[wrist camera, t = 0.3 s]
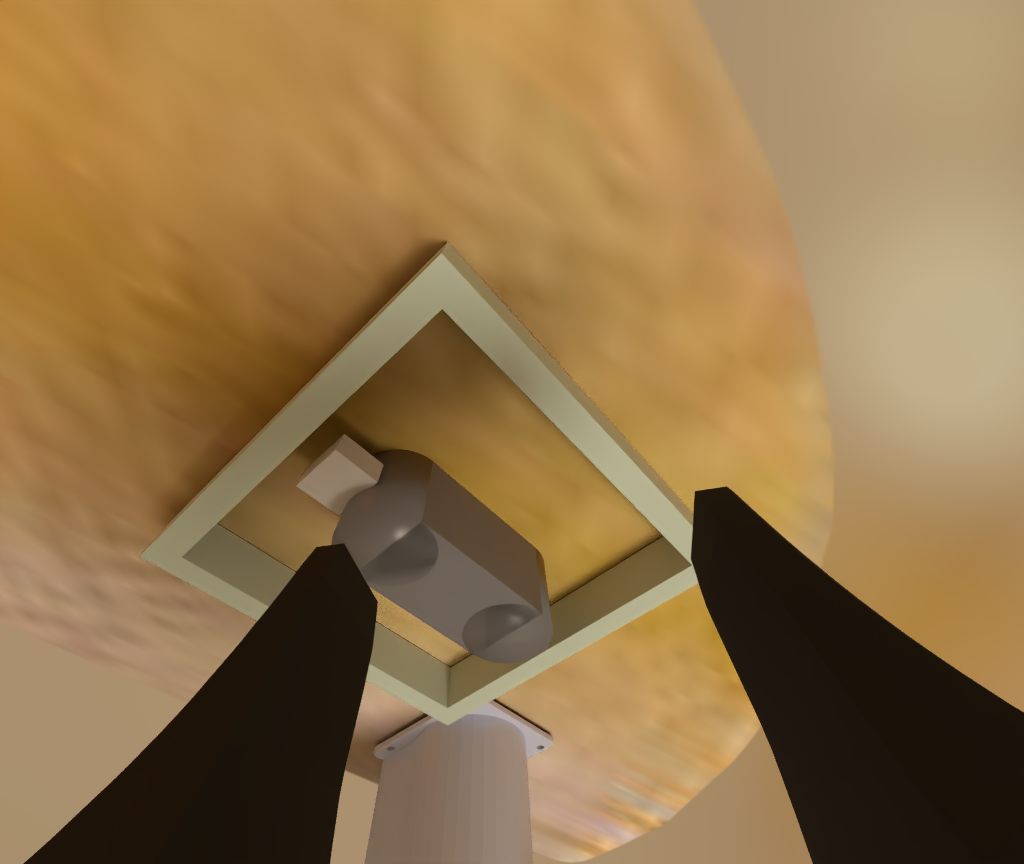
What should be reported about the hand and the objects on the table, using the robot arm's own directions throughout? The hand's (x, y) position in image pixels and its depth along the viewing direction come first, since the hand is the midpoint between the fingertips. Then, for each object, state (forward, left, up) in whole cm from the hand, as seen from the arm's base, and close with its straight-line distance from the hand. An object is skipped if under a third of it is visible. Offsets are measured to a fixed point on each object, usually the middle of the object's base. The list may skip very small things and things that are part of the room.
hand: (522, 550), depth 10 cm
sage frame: (-7, -4, -10) cm, 13 cm away
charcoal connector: (-7, -5, -10) cm, 14 cm away
